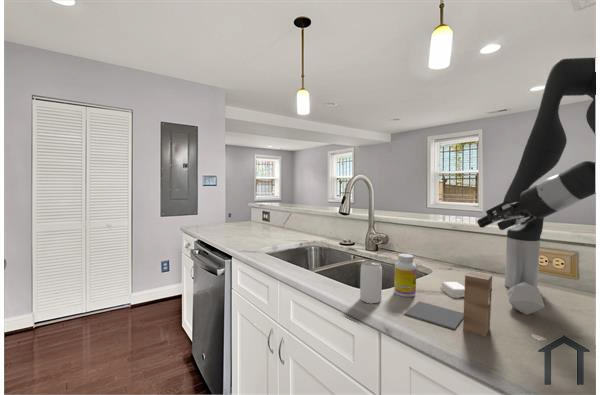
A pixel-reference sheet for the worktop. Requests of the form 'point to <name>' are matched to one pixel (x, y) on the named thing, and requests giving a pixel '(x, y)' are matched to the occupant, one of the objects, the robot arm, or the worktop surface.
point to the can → (371, 281)
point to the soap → (453, 289)
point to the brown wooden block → (477, 302)
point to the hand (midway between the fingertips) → (489, 225)
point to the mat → (435, 315)
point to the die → (525, 298)
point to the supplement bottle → (405, 276)
